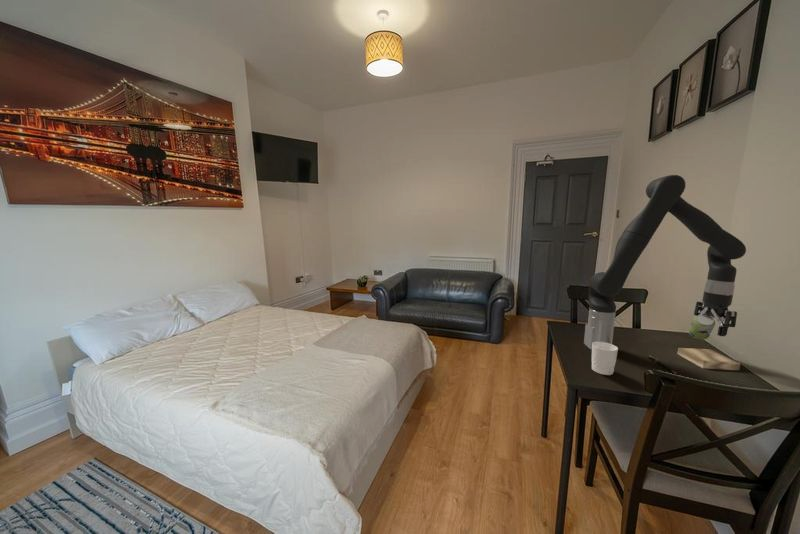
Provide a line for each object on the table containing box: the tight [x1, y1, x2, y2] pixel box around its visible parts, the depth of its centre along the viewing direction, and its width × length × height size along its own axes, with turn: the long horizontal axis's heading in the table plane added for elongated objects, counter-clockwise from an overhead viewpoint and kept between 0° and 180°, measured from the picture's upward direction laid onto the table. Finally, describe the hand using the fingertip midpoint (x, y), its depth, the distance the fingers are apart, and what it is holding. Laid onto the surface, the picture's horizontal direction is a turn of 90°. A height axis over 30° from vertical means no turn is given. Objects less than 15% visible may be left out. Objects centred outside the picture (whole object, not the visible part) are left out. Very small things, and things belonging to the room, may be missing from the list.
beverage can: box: [688, 315, 716, 340], centre depth 115 cm, size 6×7×12 cm
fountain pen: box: [647, 355, 678, 375], centre depth 110 cm, size 14×1×2 cm, turn 175°
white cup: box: [591, 342, 619, 376], centre depth 106 cm, size 8×8×10 cm
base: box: [676, 347, 741, 371], centre depth 112 cm, size 12×12×3 cm
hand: (711, 331), depth 111 cm, fingers open, 8 cm apart
